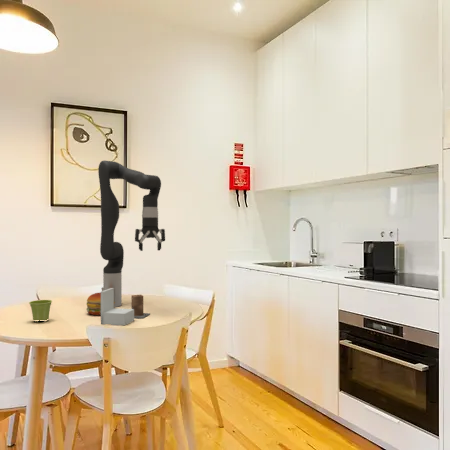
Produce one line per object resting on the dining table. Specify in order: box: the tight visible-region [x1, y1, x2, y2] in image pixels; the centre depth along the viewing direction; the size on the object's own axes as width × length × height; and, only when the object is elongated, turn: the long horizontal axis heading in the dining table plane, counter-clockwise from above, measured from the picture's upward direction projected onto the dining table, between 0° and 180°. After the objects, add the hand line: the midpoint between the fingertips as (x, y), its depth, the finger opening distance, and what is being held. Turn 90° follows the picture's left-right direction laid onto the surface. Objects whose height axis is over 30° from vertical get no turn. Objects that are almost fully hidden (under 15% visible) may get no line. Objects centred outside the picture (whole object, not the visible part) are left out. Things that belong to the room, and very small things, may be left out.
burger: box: [86, 292, 116, 316], centre depth 214 cm, size 13×14×10 cm
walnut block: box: [130, 294, 144, 316], centre depth 208 cm, size 4×4×9 cm
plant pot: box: [28, 299, 53, 321], centre depth 197 cm, size 9×9×9 cm
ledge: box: [100, 288, 135, 326], centre depth 196 cm, size 11×10×14 cm
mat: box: [134, 312, 151, 319], centre depth 208 cm, size 9×9×1 cm
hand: (150, 250), depth 215 cm, fingers open, 8 cm apart
